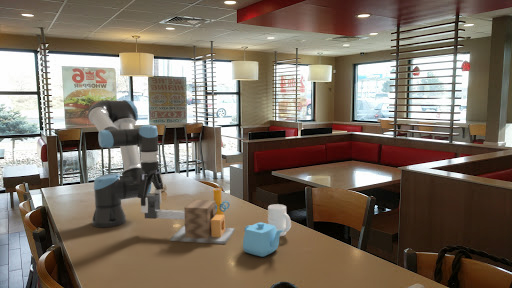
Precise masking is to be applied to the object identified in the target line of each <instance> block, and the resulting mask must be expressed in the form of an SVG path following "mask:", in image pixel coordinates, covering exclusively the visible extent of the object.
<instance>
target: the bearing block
mask: <svg viewBox="0 0 512 288" xmlns="http://www.w3.org/2000/svg"><path fill="white" fill-rule="evenodd" d="M183 211H184V213H185V219H184V225H183V226H182V227H181V228H180V229H178V230H177V231H176V232H175V233H174V234H173V235H172V236H171V237H170V238H169V239H170V242H171V241H173V242H174V241H175V242H185V243H187V242H189V243H206V244H207V243H208V244H220V245H221V244H223V245H226V244H227V242H228V241H229V239H230V238H231V236H232V235H233V233H234V232H235V227H234V228H233V227H225V232H224V234H223V235H222V236H221V237H212V233H211V220H212V218H213V217H214V216H215V215H216V203H215V201H211V200H206V199H205V200H203V199H193V200H192V201H190V203H188V204H187V205H186V206H184V209H183Z"/></svg>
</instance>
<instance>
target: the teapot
mask: <svg viewBox="0 0 512 288" xmlns="http://www.w3.org/2000/svg"><path fill="white" fill-rule="evenodd" d="M282 231H284V230H278V231H277V229H276V226H274V225H270V224H268V223H266V222H265V223H264V222H261V221H260V222H257V223H253V224H252V225H251V224H250V225H246V226H245V227H244V235H243V240H242V248H243V251H244V252H245V253H247V254H250V255H254V256H258V257H261V258H263V257H266V256H268V255H270V254H272V253H273V252H275V251H277V249H278V247H279V244H280V237H281V236H280V233H281V232H282Z"/></svg>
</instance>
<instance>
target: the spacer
mask: <svg viewBox="0 0 512 288" xmlns="http://www.w3.org/2000/svg"><path fill="white" fill-rule="evenodd" d="M225 228H226V215H225V214H224V215H215V216H214V217H213V218H212V220H211V233H212V237H221V236H222V235H223V234H224V232H225Z"/></svg>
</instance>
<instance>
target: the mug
mask: <svg viewBox="0 0 512 288" xmlns="http://www.w3.org/2000/svg"><path fill="white" fill-rule="evenodd" d="M267 224H270V225H274V226H276V229H277V231H278V230H284V231H282V232H281V233H280V237H283V236H285V235H287V232H289V231H290V230H291V227H292V221H291V217H290V216H289V214H287V206H286V205H284V204H279V203H277V204H270V205H268V207H267Z"/></svg>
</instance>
